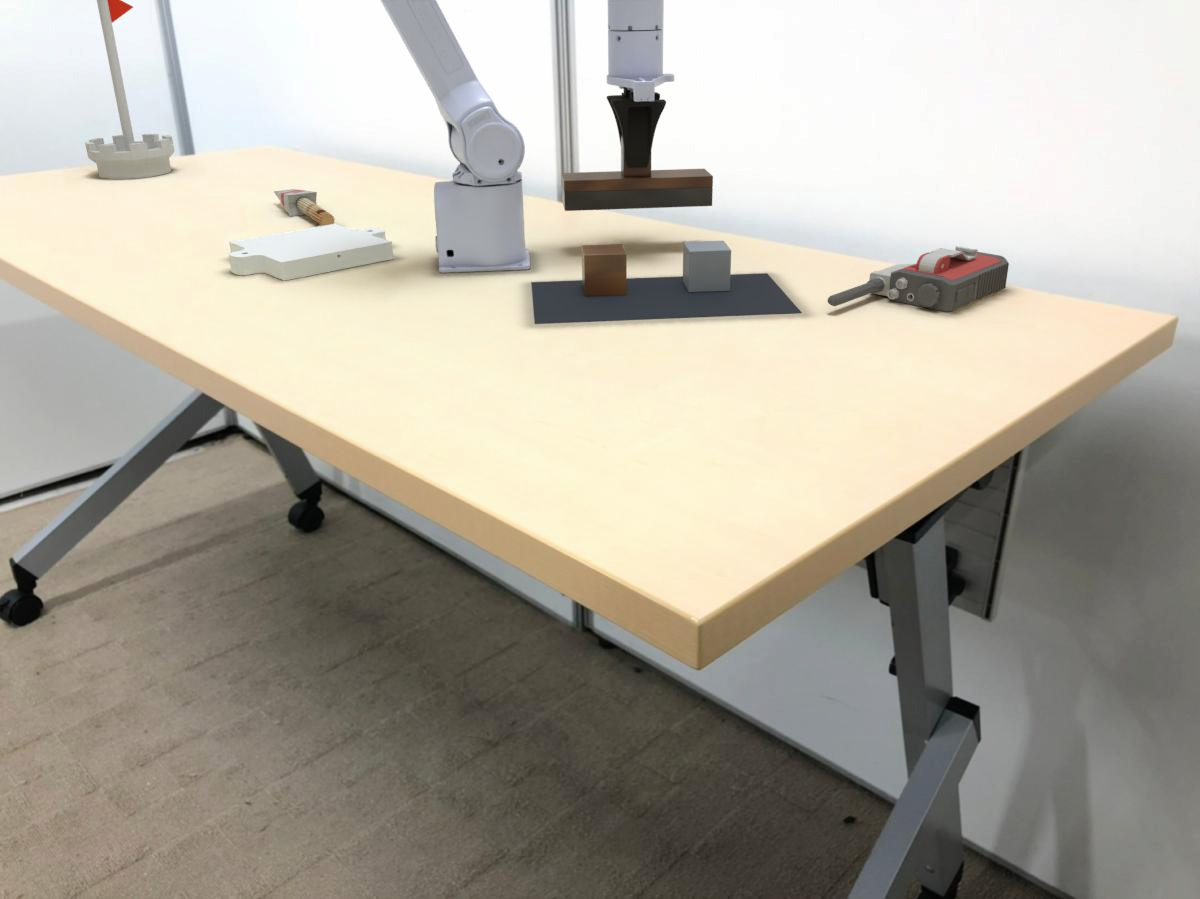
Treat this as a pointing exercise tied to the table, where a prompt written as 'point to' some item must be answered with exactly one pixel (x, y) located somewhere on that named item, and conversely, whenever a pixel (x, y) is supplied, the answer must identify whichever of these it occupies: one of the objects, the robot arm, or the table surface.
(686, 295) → the mat
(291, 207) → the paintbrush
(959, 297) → the walkie-talkie
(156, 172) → the flag stand
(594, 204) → the board eraser
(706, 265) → the block slate
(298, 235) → the mounting plate
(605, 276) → the block brown
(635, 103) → the robot arm
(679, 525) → the table surface
